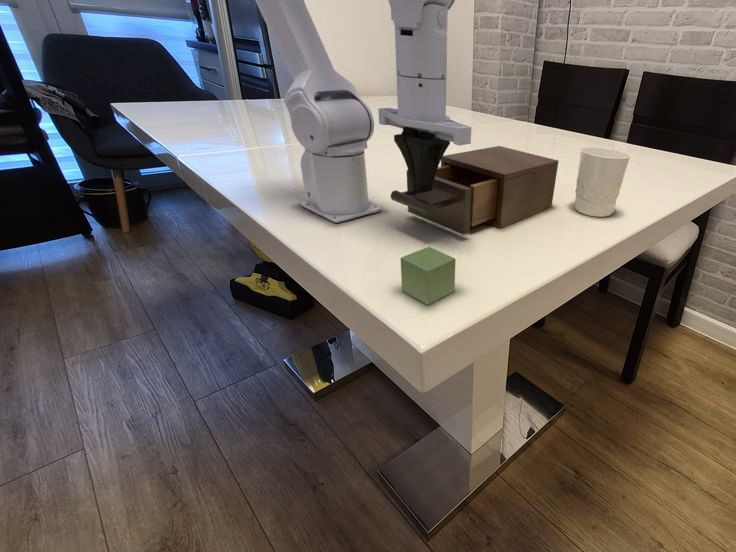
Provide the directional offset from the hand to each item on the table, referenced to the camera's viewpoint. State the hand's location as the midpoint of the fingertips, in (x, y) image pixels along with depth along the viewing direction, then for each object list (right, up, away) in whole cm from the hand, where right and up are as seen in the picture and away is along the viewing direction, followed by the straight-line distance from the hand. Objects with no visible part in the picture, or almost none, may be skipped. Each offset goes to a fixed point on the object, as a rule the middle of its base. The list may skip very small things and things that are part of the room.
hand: (422, 190), depth 54 cm
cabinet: (+10, +1, +15) cm, 18 cm away
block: (+3, -13, -10) cm, 17 cm away
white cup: (+27, 0, +17) cm, 32 cm away
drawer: (+4, -2, +7) cm, 8 cm away
